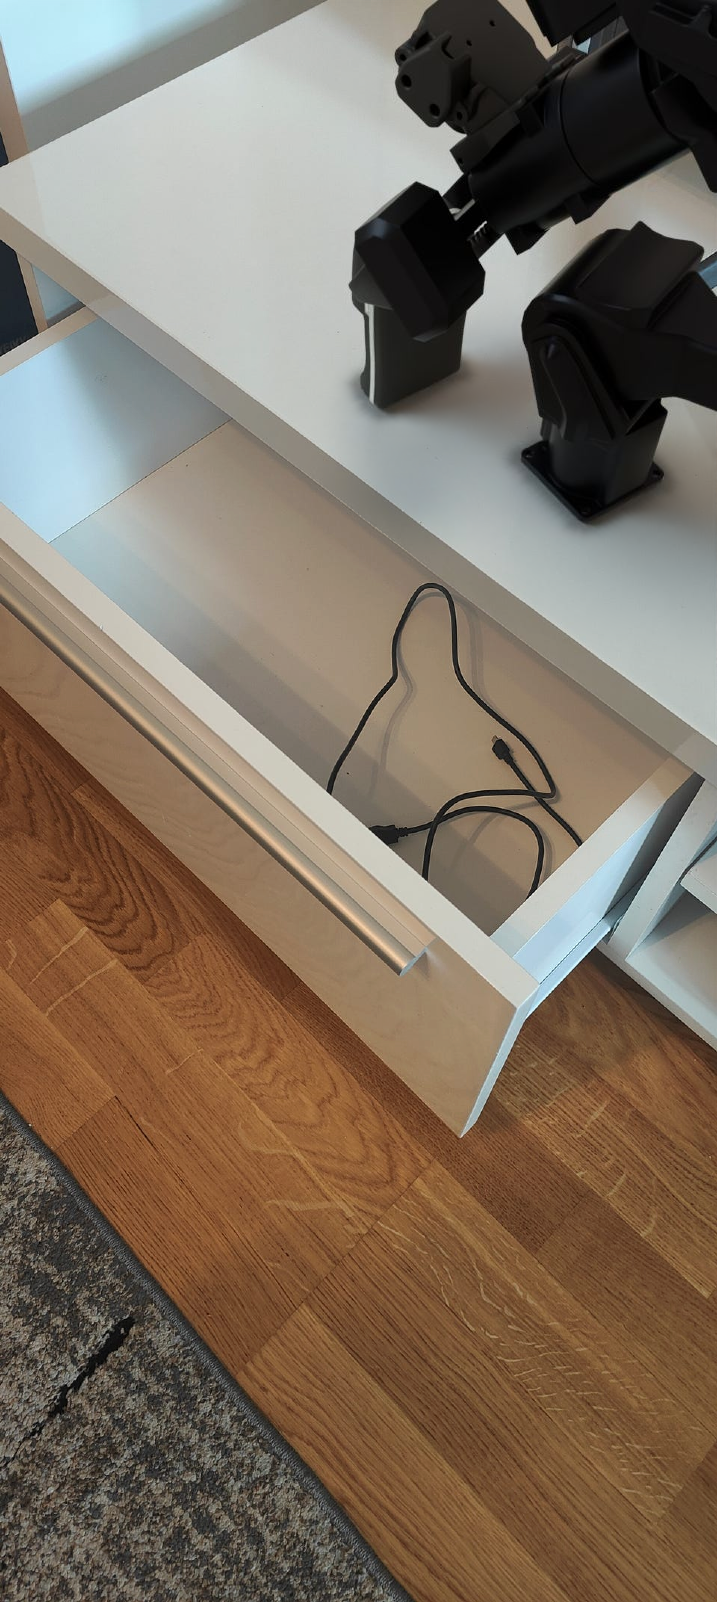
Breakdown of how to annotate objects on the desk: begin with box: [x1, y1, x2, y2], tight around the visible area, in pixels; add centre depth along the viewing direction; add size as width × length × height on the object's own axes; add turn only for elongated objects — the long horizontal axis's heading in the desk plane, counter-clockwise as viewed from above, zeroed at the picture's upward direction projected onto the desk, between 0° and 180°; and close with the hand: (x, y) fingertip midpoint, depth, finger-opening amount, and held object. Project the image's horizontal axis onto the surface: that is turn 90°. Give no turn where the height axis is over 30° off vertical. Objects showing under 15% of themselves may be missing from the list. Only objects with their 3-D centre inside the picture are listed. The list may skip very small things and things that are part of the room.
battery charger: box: [351, 197, 476, 410], centre depth 68 cm, size 7×4×11 cm, turn 125°
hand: (400, 248), depth 65 cm, fingers open, 9 cm apart
